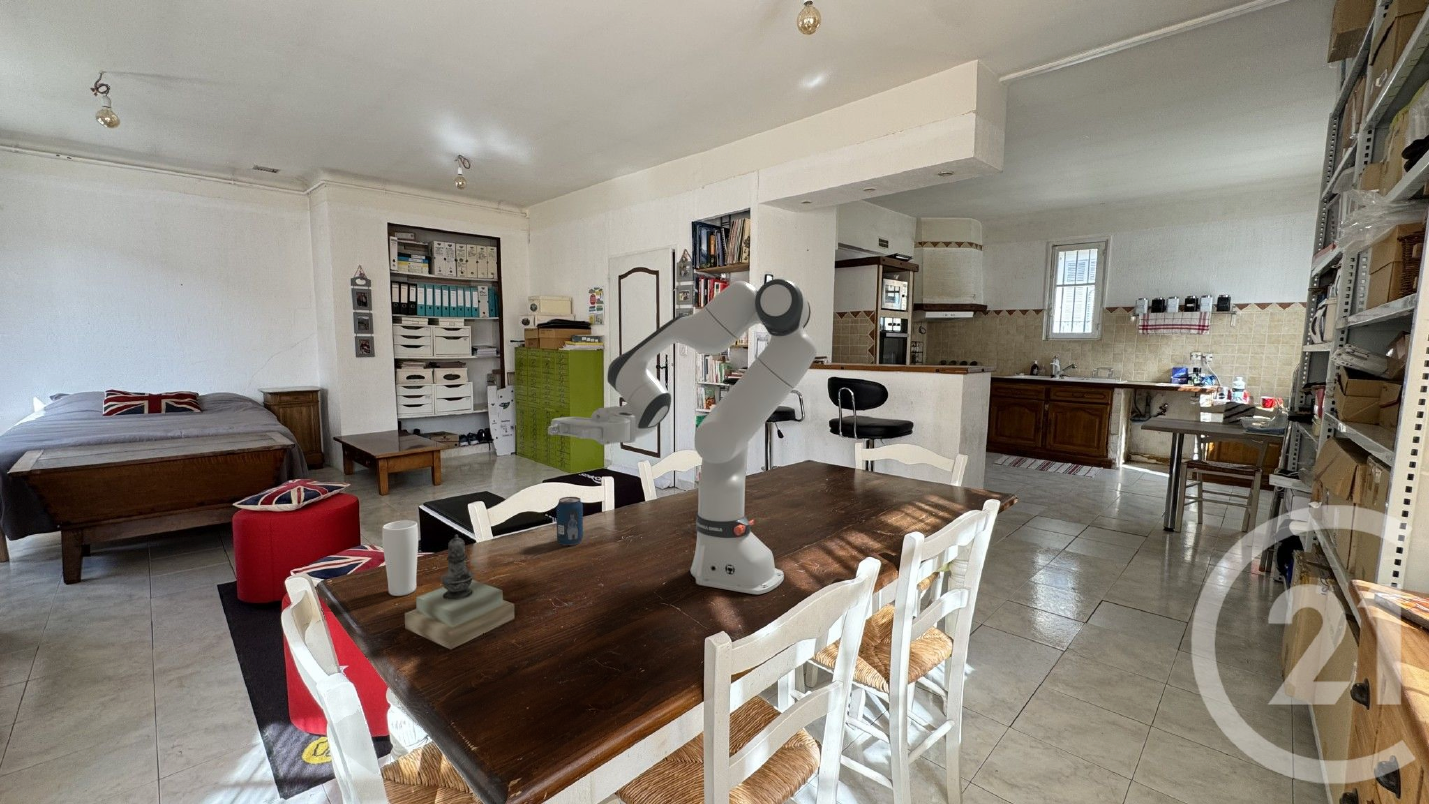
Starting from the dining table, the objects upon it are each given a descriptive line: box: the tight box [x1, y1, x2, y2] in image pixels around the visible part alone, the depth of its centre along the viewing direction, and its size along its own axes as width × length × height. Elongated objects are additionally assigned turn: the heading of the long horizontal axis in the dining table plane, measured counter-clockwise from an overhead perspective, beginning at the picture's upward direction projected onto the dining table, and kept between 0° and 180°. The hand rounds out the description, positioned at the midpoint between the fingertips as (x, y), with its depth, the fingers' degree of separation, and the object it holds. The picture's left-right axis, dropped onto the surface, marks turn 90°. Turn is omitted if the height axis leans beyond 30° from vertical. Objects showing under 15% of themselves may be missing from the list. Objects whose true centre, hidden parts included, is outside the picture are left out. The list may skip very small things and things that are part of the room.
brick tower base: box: [404, 579, 515, 650], centre depth 113 cm, size 14×14×6 cm
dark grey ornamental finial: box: [440, 534, 475, 600], centre depth 112 cm, size 6×6×12 cm
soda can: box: [556, 496, 584, 546], centre depth 159 cm, size 7×7×12 cm
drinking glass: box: [382, 519, 419, 597], centre depth 126 cm, size 7×7×15 cm
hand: (565, 432), depth 128 cm, fingers open, 8 cm apart
